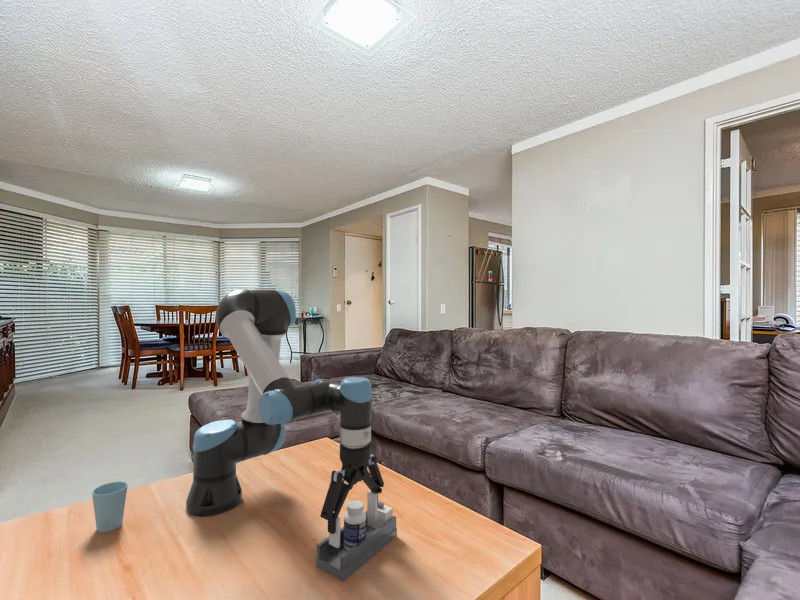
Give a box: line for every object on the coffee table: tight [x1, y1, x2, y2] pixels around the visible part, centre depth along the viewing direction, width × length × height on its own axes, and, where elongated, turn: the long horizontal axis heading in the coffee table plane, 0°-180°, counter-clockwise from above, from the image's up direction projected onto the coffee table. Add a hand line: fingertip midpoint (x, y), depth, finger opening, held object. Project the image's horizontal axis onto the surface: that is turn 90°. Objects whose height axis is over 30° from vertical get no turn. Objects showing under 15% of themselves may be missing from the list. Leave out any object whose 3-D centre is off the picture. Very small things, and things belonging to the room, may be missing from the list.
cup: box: [91, 481, 129, 533], centre depth 105 cm, size 8×8×10 cm
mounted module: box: [367, 501, 394, 529], centre depth 102 cm, size 6×3×6 cm, turn 55°
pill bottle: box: [343, 500, 366, 550], centre depth 94 cm, size 5×5×10 cm
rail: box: [315, 510, 398, 582], centre depth 95 cm, size 8×20×5 cm, turn 145°
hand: (354, 531), depth 94 cm, fingers open, 13 cm apart
